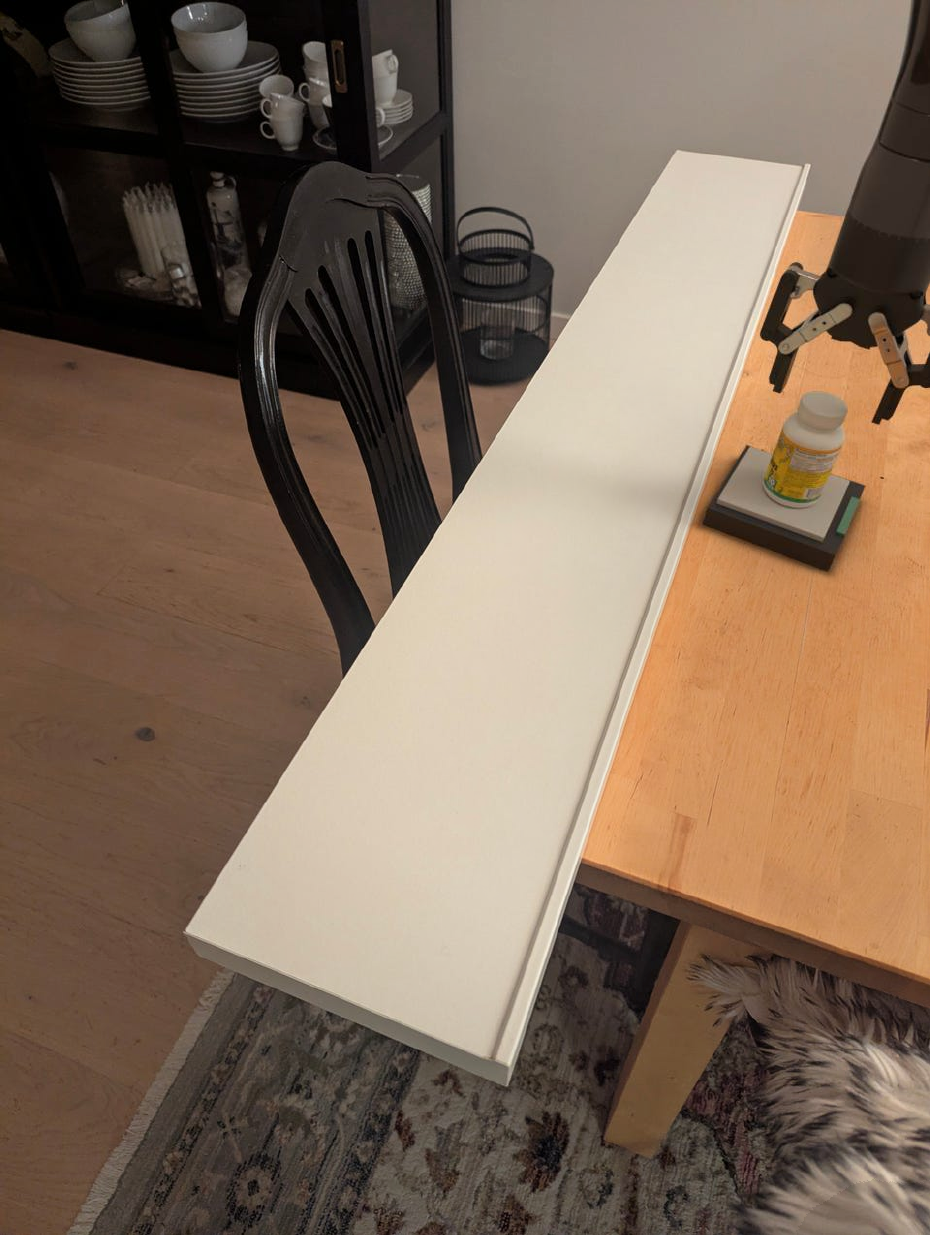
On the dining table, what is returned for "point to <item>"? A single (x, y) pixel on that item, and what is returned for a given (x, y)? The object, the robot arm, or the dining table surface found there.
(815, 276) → the robot arm
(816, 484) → the supplement bottle
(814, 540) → the scale
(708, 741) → the dining table surface
